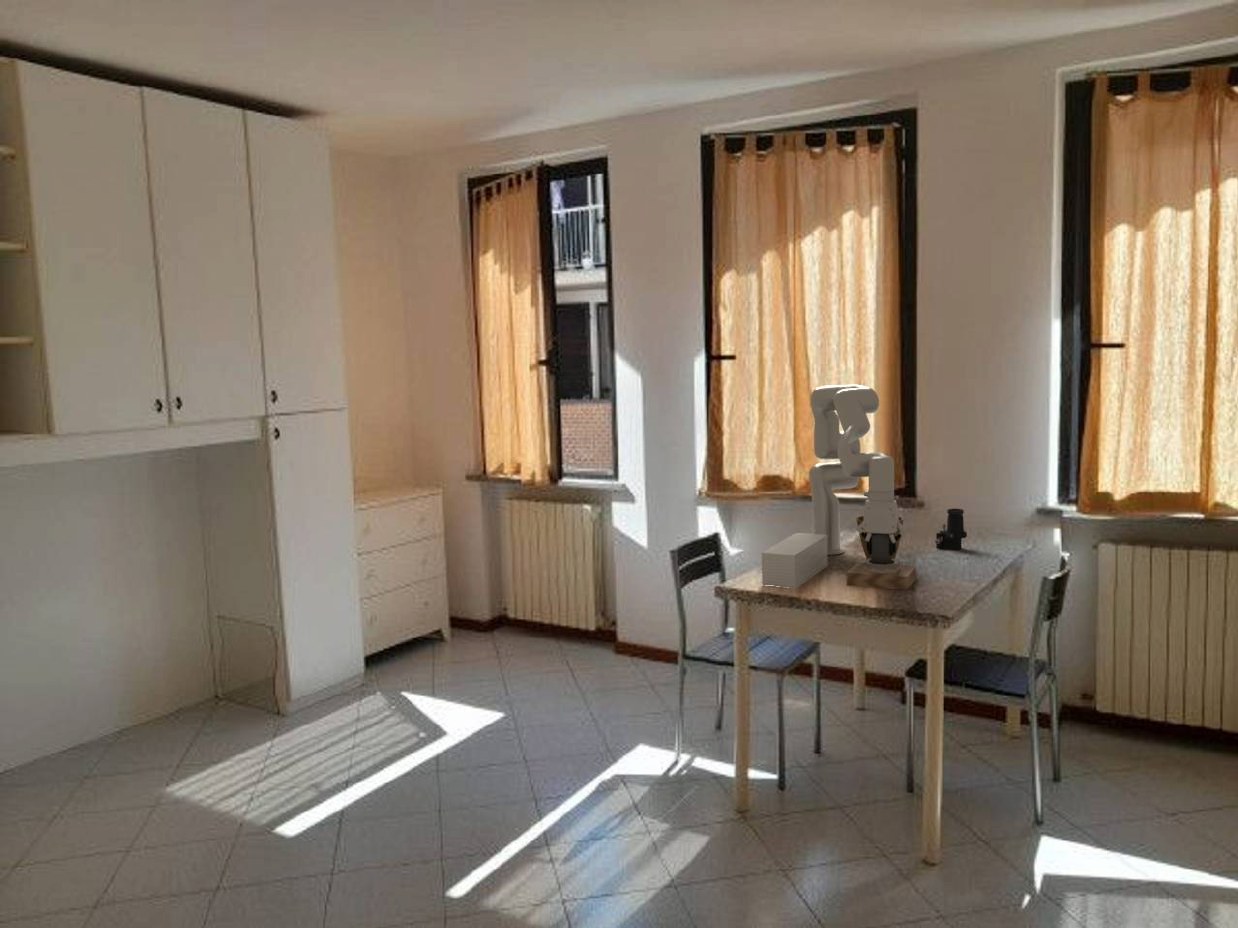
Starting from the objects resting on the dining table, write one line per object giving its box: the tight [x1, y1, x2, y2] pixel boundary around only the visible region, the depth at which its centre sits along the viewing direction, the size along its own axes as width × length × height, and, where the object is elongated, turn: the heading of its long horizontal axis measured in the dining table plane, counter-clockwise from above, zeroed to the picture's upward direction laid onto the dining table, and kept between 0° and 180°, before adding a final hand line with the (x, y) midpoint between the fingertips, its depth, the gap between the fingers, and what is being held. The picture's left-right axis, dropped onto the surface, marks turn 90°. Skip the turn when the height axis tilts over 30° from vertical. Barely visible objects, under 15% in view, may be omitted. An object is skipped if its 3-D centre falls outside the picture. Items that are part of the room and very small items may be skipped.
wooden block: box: [846, 558, 917, 591], centre depth 298 cm, size 18×14×6 cm
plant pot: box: [856, 515, 904, 560], centre depth 319 cm, size 15×15×16 cm
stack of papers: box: [761, 532, 828, 589], centre depth 310 cm, size 32×11×11 cm, turn 150°
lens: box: [871, 534, 892, 565], centre depth 298 cm, size 6×6×10 cm
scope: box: [934, 508, 968, 551], centre depth 340 cm, size 8×14×10 cm
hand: (881, 553), depth 298 cm, fingers closed on lens, 5 cm apart
